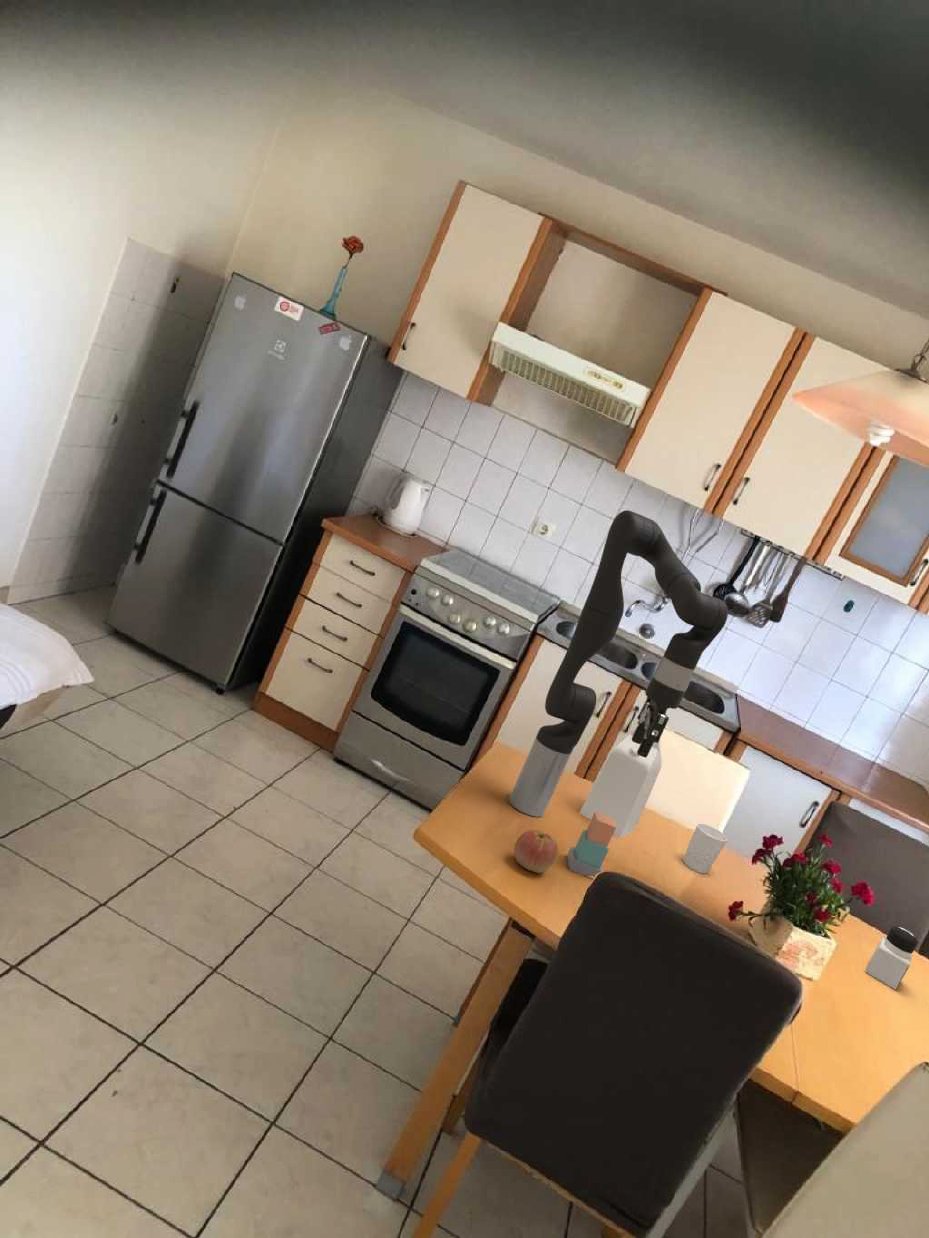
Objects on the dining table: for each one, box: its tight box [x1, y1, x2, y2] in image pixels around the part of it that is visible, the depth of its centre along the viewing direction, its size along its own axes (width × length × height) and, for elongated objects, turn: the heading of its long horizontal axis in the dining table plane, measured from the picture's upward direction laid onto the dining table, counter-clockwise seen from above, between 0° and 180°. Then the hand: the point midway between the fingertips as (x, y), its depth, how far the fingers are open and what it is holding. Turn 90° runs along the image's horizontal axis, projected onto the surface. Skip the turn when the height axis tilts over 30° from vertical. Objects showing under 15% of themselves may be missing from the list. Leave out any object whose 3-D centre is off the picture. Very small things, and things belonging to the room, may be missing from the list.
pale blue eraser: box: [566, 845, 604, 877], centre depth 212 cm, size 7×7×2 cm
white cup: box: [682, 822, 728, 875], centre depth 239 cm, size 8×8×10 cm
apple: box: [513, 829, 559, 874], centre depth 202 cm, size 9×9×8 cm
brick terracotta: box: [585, 812, 616, 847], centre depth 210 cm, size 4×4×5 cm
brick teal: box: [574, 829, 610, 869], centre depth 211 cm, size 6×6×5 cm
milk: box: [578, 728, 663, 839], centre depth 243 cm, size 12×12×26 cm
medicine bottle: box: [865, 926, 919, 991], centre depth 219 cm, size 7×7×12 cm
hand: (638, 748), depth 206 cm, fingers open, 8 cm apart
